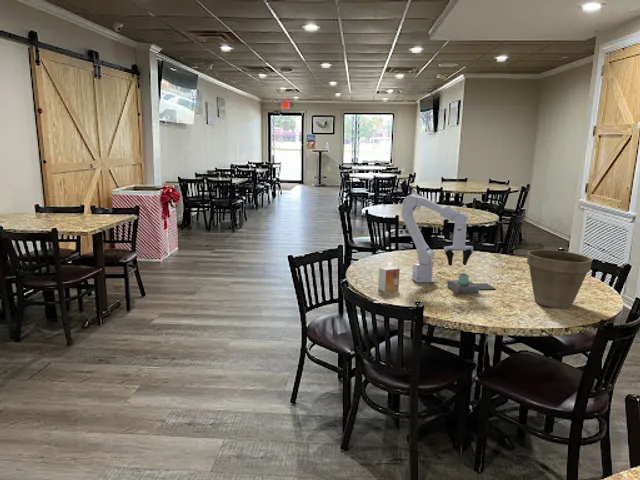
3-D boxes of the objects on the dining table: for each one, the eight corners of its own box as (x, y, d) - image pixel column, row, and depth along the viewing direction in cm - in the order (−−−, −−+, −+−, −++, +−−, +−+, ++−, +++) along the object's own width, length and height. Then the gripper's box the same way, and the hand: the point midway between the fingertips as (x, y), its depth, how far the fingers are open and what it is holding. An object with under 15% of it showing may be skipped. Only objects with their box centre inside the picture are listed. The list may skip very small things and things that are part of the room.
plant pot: (576, 297, 219) (582, 251, 215) (593, 315, 195) (600, 263, 191) (518, 292, 224) (522, 247, 220) (528, 309, 201) (533, 259, 196)
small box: (384, 292, 221) (385, 270, 219) (377, 289, 226) (378, 267, 224) (398, 290, 224) (400, 268, 222) (391, 287, 229) (392, 265, 227)
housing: (457, 294, 220) (458, 287, 219) (447, 286, 231) (447, 279, 231) (478, 293, 221) (479, 286, 221) (466, 286, 233) (467, 279, 232)
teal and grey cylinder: (460, 291, 224) (461, 275, 222) (455, 289, 228) (457, 273, 227) (469, 291, 224) (470, 275, 223) (464, 288, 229) (466, 272, 227)
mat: (477, 290, 227) (478, 289, 227) (469, 284, 236) (469, 283, 236) (495, 289, 228) (495, 288, 228) (486, 284, 237) (486, 283, 237)
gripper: (449, 239, 226) (447, 267, 228) (477, 239, 229) (475, 266, 232) (442, 236, 233) (440, 263, 235) (469, 236, 236) (467, 263, 238)
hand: (457, 265), depth 234 cm, fingers open, 7 cm apart
